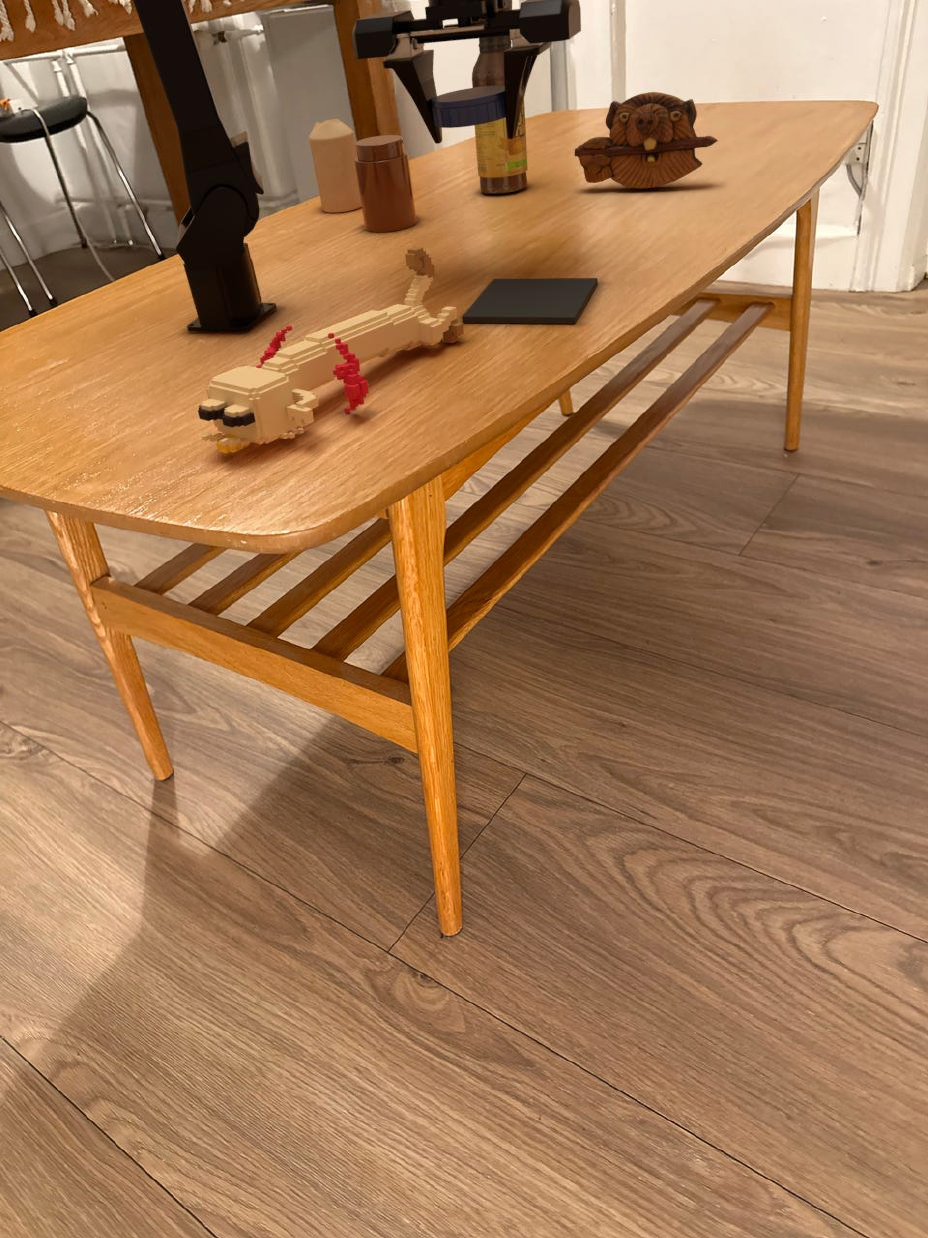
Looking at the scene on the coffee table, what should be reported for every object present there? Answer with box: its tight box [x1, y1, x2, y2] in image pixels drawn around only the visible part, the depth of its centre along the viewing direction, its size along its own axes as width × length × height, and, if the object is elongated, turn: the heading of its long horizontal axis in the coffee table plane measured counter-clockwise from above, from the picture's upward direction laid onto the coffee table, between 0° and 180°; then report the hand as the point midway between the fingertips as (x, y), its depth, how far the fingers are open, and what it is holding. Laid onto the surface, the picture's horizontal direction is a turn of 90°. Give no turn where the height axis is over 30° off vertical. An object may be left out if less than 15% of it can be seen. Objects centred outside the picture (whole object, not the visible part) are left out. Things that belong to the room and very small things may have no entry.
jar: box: [354, 134, 418, 233], centre depth 106 cm, size 6×6×9 cm
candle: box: [308, 118, 362, 213], centre depth 115 cm, size 6×6×10 cm
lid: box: [432, 86, 506, 129], centre depth 80 cm, size 7×7×2 cm
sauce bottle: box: [471, 19, 529, 194], centre depth 111 cm, size 6×6×20 cm
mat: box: [461, 277, 599, 325], centre depth 82 cm, size 10×10×1 cm
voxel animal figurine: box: [197, 246, 465, 455], centre depth 68 cm, size 10×9×25 cm
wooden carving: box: [574, 91, 719, 189], centre depth 107 cm, size 16×5×10 cm, turn 76°
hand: (475, 140), depth 82 cm, fingers closed on lid, 6 cm apart
